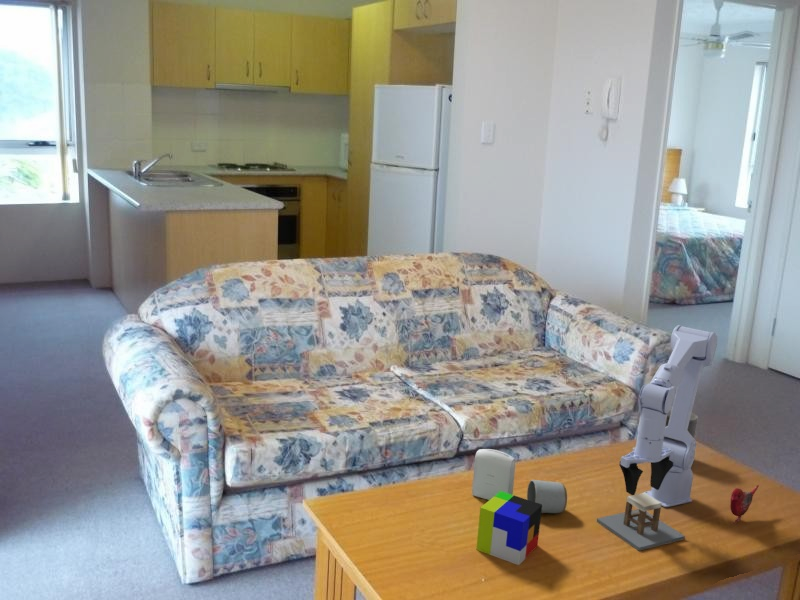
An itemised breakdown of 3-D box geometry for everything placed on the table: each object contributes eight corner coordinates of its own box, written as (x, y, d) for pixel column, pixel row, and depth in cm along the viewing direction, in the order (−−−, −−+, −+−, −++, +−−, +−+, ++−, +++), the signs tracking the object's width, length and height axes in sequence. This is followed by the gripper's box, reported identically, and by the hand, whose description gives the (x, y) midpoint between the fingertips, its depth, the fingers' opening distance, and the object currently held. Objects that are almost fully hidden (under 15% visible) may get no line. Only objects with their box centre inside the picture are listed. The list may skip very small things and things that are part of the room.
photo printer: (468, 495, 204) (473, 449, 201) (475, 489, 208) (479, 443, 205) (508, 507, 199) (513, 459, 197) (514, 500, 203) (519, 453, 200)
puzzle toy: (518, 565, 174) (523, 522, 172) (476, 549, 179) (480, 507, 177) (537, 546, 183) (542, 504, 180) (496, 531, 188) (500, 491, 185)
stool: (640, 519, 196) (644, 492, 194) (657, 530, 191) (661, 502, 190) (623, 523, 193) (627, 496, 192) (640, 534, 189) (644, 506, 187)
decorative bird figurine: (720, 528, 196) (727, 489, 194) (748, 505, 209) (755, 468, 207) (732, 533, 194) (739, 493, 192) (760, 509, 207) (767, 472, 205)
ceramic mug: (566, 518, 196) (570, 488, 194) (533, 518, 195) (536, 488, 193) (553, 498, 206) (556, 469, 204) (521, 498, 205) (524, 469, 203)
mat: (640, 511, 202) (641, 508, 202) (684, 539, 190) (685, 536, 190) (596, 521, 195) (596, 518, 195) (638, 550, 183) (639, 547, 183)
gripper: (660, 425, 195) (653, 478, 199) (614, 433, 188) (606, 488, 192) (683, 436, 189) (675, 491, 193) (636, 445, 182) (628, 501, 186)
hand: (642, 490), depth 192 cm, fingers open, 7 cm apart
